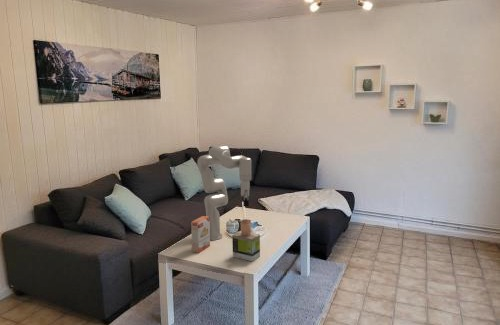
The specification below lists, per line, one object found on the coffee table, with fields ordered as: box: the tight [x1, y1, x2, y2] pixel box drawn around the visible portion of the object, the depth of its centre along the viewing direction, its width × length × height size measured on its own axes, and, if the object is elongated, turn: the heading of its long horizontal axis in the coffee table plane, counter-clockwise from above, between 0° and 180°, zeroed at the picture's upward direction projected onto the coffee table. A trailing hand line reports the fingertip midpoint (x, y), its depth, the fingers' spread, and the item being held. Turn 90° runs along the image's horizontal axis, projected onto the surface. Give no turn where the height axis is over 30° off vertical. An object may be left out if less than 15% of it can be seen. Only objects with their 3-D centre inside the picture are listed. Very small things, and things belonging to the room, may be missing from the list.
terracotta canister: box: [240, 218, 252, 236], centre depth 243 cm, size 6×6×9 cm
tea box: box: [231, 230, 261, 262], centre depth 245 cm, size 15×10×15 cm, turn 58°
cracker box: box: [190, 215, 211, 254], centre depth 257 cm, size 14×6×21 cm, turn 153°
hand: (245, 203), depth 243 cm, fingers open, 9 cm apart
